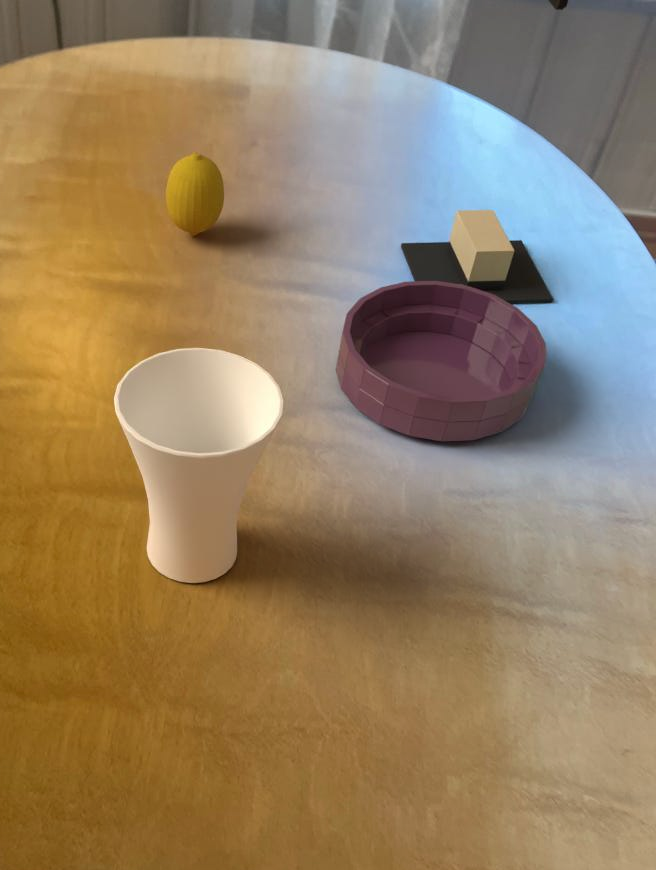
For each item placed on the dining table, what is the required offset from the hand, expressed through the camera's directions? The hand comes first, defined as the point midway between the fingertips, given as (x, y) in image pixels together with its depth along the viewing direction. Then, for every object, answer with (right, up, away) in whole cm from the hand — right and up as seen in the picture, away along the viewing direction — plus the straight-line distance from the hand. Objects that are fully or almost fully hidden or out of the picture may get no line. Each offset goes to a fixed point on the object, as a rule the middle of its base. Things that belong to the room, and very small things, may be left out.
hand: (613, 2), depth 79 cm
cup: (-33, -44, -7) cm, 56 cm away
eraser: (-6, -15, +16) cm, 23 cm away
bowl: (-13, -29, +6) cm, 32 cm away
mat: (-6, -16, +16) cm, 23 cm away
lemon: (-33, -11, +19) cm, 40 cm away
